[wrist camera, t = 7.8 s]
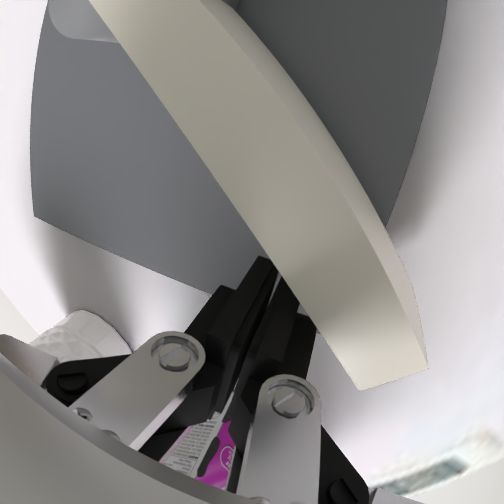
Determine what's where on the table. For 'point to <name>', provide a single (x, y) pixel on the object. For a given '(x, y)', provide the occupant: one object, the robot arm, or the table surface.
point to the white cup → (81, 338)
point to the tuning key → (272, 170)
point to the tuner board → (185, 156)
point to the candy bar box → (206, 451)
